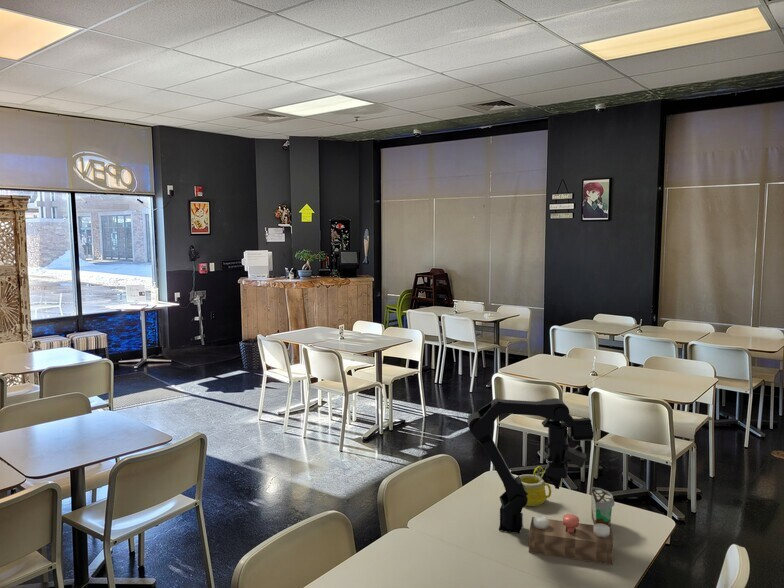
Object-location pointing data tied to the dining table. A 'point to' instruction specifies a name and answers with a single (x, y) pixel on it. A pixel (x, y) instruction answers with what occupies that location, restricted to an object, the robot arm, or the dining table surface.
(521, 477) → the mug
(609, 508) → the food container
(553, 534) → the walnut plug block
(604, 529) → the right grey plug
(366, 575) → the dining table surface
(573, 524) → the salmon round-head knob
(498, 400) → the robot arm
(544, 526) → the left grey plug
